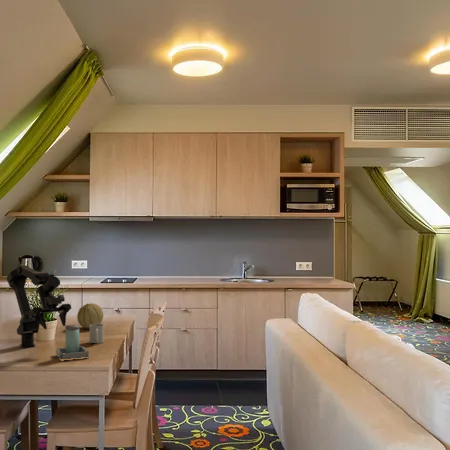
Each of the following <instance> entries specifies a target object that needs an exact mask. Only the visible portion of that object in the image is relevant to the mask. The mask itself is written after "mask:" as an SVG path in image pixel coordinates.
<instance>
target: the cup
mask: <svg viewBox="0 0 450 450" xmlns="http://www.w3.org/2000/svg"><path fill="white" fill-rule="evenodd" d="M88 336H89V338H88V340H89V344H91V343H101V344H103V343H104V342H105V324H104V323H101V324H91V325H90V329H89V335H88Z"/></svg>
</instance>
